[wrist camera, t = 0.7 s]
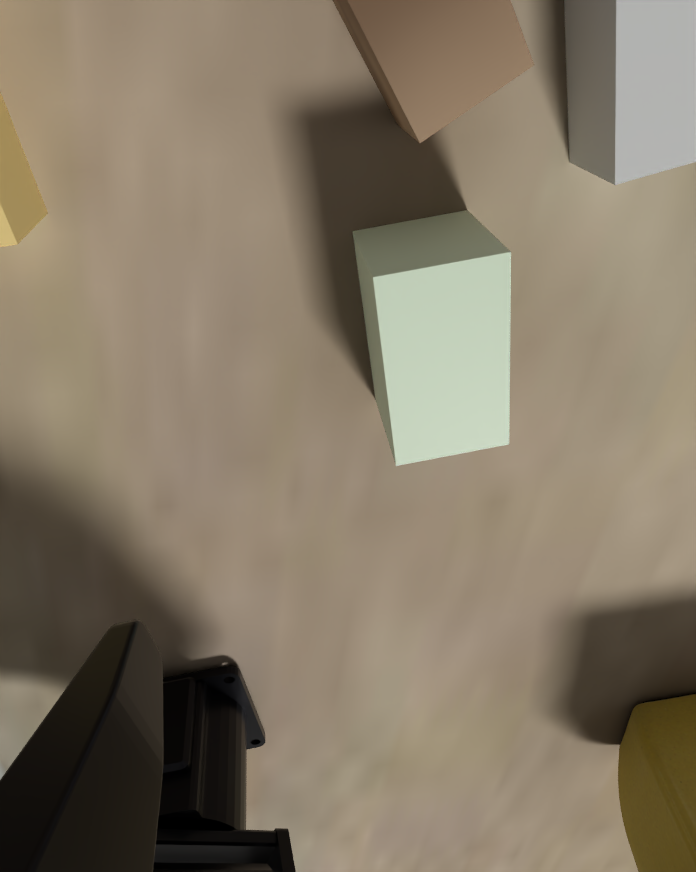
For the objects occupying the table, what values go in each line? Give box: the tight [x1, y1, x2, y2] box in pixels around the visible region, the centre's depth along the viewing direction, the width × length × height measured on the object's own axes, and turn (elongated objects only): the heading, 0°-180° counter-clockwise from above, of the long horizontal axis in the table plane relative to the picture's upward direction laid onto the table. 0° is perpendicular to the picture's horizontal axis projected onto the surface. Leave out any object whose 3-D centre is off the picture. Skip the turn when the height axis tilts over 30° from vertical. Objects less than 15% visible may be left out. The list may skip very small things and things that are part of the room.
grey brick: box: [564, 0, 696, 185], centre depth 15 cm, size 6×3×3 cm, turn 14°
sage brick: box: [353, 210, 511, 466], centre depth 19 cm, size 6×4×4 cm, turn 8°
